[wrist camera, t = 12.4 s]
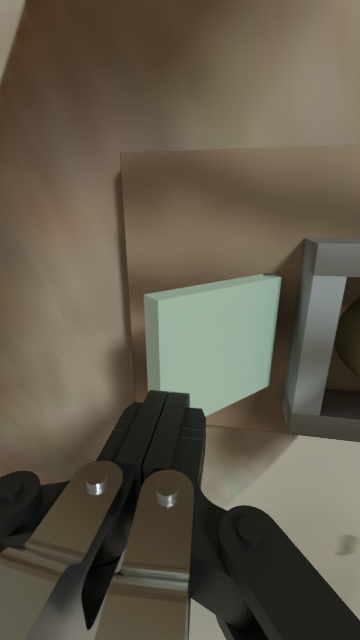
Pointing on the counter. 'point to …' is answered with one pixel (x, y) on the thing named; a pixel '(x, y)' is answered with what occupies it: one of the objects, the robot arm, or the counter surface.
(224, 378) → the latch flap
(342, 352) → the olive knobbed cylinder
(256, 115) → the counter surface
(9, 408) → the counter surface
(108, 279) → the counter surface
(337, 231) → the holder board
